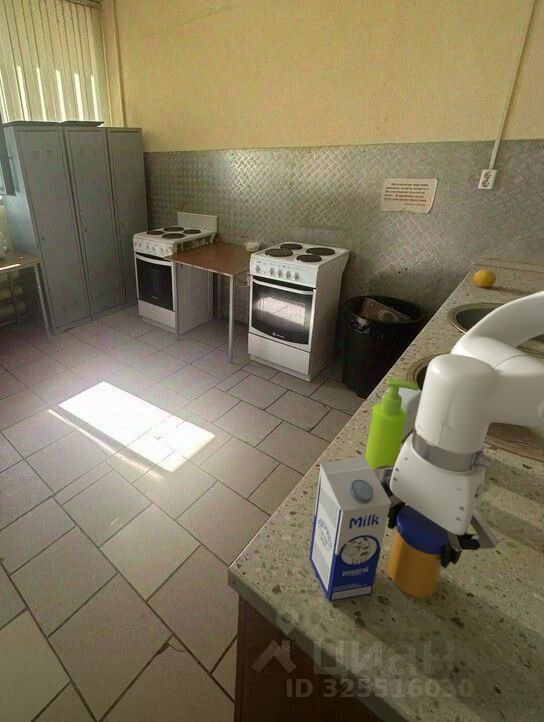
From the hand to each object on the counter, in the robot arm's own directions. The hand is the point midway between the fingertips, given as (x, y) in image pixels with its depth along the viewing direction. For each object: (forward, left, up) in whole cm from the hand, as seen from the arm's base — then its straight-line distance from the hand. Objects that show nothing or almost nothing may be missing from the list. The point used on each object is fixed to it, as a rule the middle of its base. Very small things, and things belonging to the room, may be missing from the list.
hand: (419, 540), depth 58 cm
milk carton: (+11, +1, -8) cm, 13 cm away
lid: (0, 0, +3) cm, 3 cm away
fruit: (-89, -144, -8) cm, 170 cm away
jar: (0, 0, -8) cm, 8 cm away
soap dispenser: (-4, -24, -8) cm, 26 cm away
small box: (-11, -36, -8) cm, 38 cm away
